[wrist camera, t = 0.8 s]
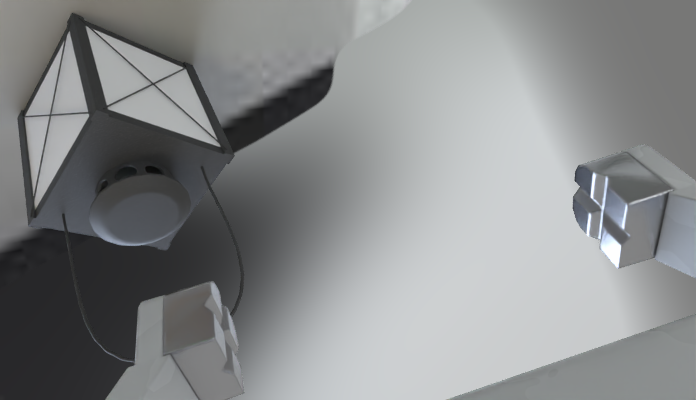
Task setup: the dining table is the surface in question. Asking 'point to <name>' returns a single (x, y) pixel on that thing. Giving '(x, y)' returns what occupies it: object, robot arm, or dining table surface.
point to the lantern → (118, 144)
